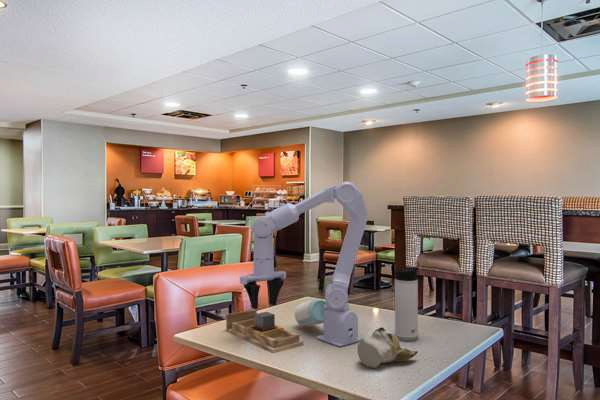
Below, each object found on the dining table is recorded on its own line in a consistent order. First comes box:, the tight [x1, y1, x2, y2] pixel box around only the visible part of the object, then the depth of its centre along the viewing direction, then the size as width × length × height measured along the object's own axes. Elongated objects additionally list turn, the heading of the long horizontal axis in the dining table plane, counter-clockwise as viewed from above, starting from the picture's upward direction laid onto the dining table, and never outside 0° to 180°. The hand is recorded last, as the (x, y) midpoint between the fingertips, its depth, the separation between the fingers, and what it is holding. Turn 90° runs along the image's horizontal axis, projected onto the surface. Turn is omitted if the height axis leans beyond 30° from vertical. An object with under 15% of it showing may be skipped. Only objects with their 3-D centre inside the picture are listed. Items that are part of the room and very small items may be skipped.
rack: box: [225, 308, 304, 354], centre depth 123 cm, size 24×10×5 cm, turn 39°
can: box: [294, 298, 326, 327], centre depth 129 cm, size 7×7×12 cm
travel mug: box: [394, 266, 420, 342], centre depth 122 cm, size 6×7×20 cm
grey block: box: [255, 311, 276, 332], centre depth 122 cm, size 4×4×6 cm
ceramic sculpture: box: [357, 327, 418, 369], centre depth 104 cm, size 11×9×15 cm
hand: (263, 306), depth 123 cm, fingers open, 6 cm apart
